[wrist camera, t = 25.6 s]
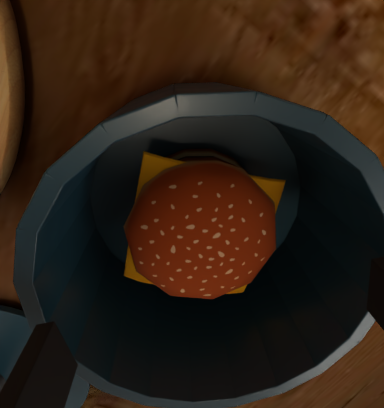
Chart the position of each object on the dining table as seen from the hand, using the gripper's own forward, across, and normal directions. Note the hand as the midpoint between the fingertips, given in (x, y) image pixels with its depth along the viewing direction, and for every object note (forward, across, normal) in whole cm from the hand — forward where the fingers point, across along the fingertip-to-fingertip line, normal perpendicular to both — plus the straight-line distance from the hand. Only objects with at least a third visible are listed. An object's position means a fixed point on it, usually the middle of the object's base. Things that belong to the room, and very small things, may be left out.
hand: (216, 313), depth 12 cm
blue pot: (+11, 0, 0) cm, 11 cm away
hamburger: (+11, 0, 0) cm, 11 cm away
